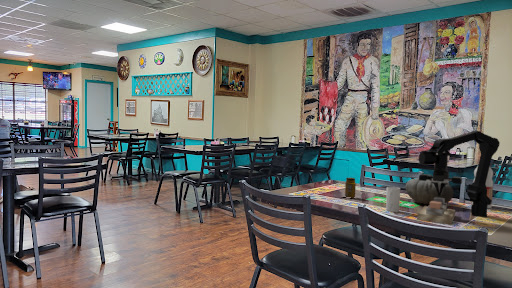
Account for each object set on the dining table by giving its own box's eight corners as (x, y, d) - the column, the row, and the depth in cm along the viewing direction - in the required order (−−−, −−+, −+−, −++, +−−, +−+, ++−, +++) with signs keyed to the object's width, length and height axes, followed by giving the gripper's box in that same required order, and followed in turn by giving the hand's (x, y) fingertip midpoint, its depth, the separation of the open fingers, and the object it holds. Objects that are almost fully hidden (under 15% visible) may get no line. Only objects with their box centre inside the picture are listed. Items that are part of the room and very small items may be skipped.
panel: (455, 216, 182) (455, 204, 182) (450, 224, 166) (451, 211, 166) (424, 211, 190) (424, 200, 190) (417, 219, 174) (417, 206, 173)
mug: (387, 208, 196) (388, 186, 195) (400, 210, 192) (401, 187, 191) (382, 212, 187) (383, 188, 187) (395, 214, 184) (396, 190, 183)
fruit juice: (495, 208, 202) (498, 157, 201) (480, 208, 201) (483, 157, 199) (482, 204, 212) (485, 156, 210) (467, 205, 210) (470, 156, 209)
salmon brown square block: (441, 208, 173) (441, 202, 173) (439, 210, 170) (440, 203, 170) (430, 207, 176) (431, 200, 176) (429, 208, 172) (429, 202, 172)
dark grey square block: (444, 204, 183) (444, 198, 183) (443, 205, 180) (443, 199, 180) (434, 203, 186) (434, 197, 186) (433, 204, 182) (433, 198, 182)
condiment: (358, 197, 224) (358, 178, 223) (350, 199, 218) (351, 179, 217) (347, 196, 229) (348, 176, 229) (339, 197, 223) (340, 178, 223)
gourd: (401, 200, 206) (406, 169, 207) (405, 200, 228) (409, 172, 229) (451, 210, 194) (456, 178, 195) (450, 209, 216) (455, 180, 217)
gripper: (417, 164, 180) (416, 196, 181) (460, 167, 170) (459, 201, 171) (421, 162, 189) (420, 193, 190) (462, 165, 179) (461, 197, 180)
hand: (439, 196), depth 183 cm, fingers closed
